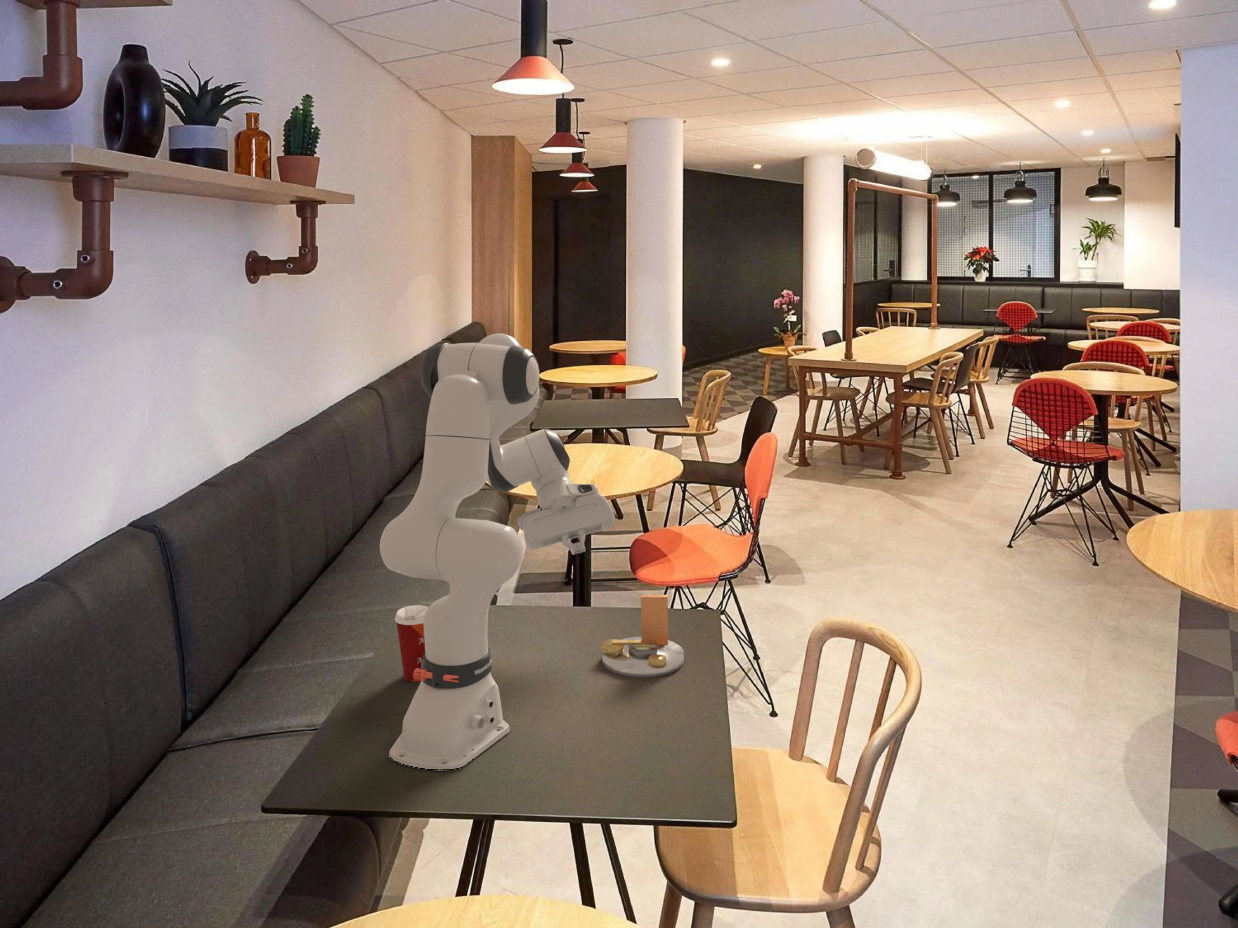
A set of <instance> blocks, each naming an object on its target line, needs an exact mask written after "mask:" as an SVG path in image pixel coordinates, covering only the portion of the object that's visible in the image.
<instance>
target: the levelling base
mask: <svg viewBox="0 0 1238 928" xmlns="http://www.w3.org/2000/svg"><path fill="white" fill-rule="evenodd" d="M620 640H641V636H633V637H626V638H622V639H620ZM601 654H602V653H601ZM601 658H602V660H601V661H602V665H603V666H604V667H605V668H606V669H607V670H608V671H609V672H612V673H614V674H616V675H618V676H624V677H629V678H638V679H647V678H649V679H650V678H657V677H663V676H665V675H670V674H672V673H675V672H676V671H677V670H679V669H680V668H681V667H682V666H683V665H684V661H685V651H684V649H683V648H682V647H681V646H680V645H679V644H677V643H676V642H674V641H671V640H669V639H668V645H624V653H623V654H621V655H618V656H606V655H604V654H602V657H601Z"/></svg>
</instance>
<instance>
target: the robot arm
mask: <svg viewBox="0 0 1238 928" xmlns="http://www.w3.org/2000/svg"><path fill="white" fill-rule="evenodd" d="M419 365H420V367H419V377H420V383H421V387H422V388H423V390H424V391H425V393H426V395H428V397H430V403H429V407H428V413H427V418H426V419H427V420H426V426H425V427H426V429H425V439H424V442H425V443H424V451H423V462H422V470H421V475H420V476H421V477H420V481H419V484H418V486H417V487H418V488H417V490H416V492H415V493H414V496H413V497H412V500H411V501H410V503H409V504H408V505H407V506H406V508H405V509H404V510H403V511H402V512H401V513H400V514H399V515H398V516H396V517H395V518H393V519H392V520H391V521H390V522H389V523H387V525H386V526H385V528H384V529H383V532H382V534H381V537H380V542H379V552H380V557H381V559H382V562H383V564H384V566H385V567H386V568H387V569H388V570H390V571H392V572H395V573H397V574H399V575H400V574H401V575H404V576H407V577H410V578H413V579H414V578H415V579H425V580H435V581H436V580H437V581H445V582H447V583H448V585H449V594H447V595H445V596H442V597H441V598H439V599H437V600H435V601H434V602H433V603H431V604H430V605H429V606H428V607H429V608H428V609H427V611H426V613H425V615H424V619H423V626H424V640H425V654H424V657H423V662H422V669H419V668H416V669H415V670H414V673H413V677H414V680H421V682H419V685H418V687H417V689H416V691H415V694H414V695H413V698H412V700H411V703H410V704H409V706H408V709H407V710H406V713H405V715H404V717H403V720H402V731H401V733H400V735H399V736H398V738H397V739H396V740H395V742H394V743H393V745H392V747H391V748H390V750H389V752H388V753H389V754H388V757H389V758H390V757H391V758H392V759H393V760H392V759H391V758H390V759H391V760H392V761H394V760H395V761H397V762H400V763H401V764H400V763H399V764H400V765H403V764H405V765H404V766H406V765H409V766H408V767H410V766H413V767H412V768H415V767H418V768H417V769H420V768H425V769H424V770H427V769H439V770H438V771H443V770H442V769H454V768H459V769H461V768H460V767H462V766H463V767H465V766H466V765H467V764H469V763H470V762H471V761H472V759H473V760H474V759H476V758H477V757H478V756H479V755H480V754H483V752H484V751H485V750H486V751H487V749H489V748H490V747H491V746H493V745H494V744H495V743H496V742H498V741H499V740H501V739H502V738H503V737H504V736H506V735H507V734H508V733H510V725H509V724H508V723H507V721H505V720H504V718H503V709H502V703H501V696H500V695H501V694H500V689H499V688H500V687H499V686H498V684H497V683H496V681H495V679H494V677H493V676H492V673H491V671H492V670H493V669H492V667H493V666H492V664H493V663H492V662H493V658H492V657H493V656H492V654H491V649H490V647H489V643H488V642H489V641H488V639H489V638H488V619H489V609H490V604H491V603H492V600H493V598H494V597H495V596H494V595H495V594H496V593H497V592H498V590H499V589H500V588H501V587H502V586H503V585H504V584H506V583H507V582H508V581H510V580H511V579H512V578H513V577H515V575H516V574H517V572H518V570H519V568H520V566H521V564H522V561H523V553H524V551H523V544H522V540H521V538H520V536H519V534H518V532H517V531H516V530H515V528H513V527H511V526H509V525H506V524H502V523H499V522H495V521H492V520H487V519H475V518H460V517H459V518H458V517H456V514H457V511H458V507H459V505H460V503H462V501H463V500H464V499H466V498H468V497H471V496H473V495H474V494H476V493H477V492H479V491H481V489H483V487H484V486H485V484H486V482H487V483H488V485H489V486H490V487H491V489H493V490H495V491H499V492H502V493H508V492H511V491H512V490H515V489H516V488H518V487H519V486H522V485H524V484H527V483H528V482H530V483H531V486H532V488H533V489H534V491H535V492H536V499H537V502H538V505H539V508H534V509H532V510H529V511H528V510H527V511H524V512H522V513H521V514H520V515H519V516H518V517H517V519H516V522H517V526H518V528H519V529H520V530H521V531H522V532H523V538H524V542H525V545H526V548H527V549H529V550H531V551H534V550H538V549H541V548H545V547H548V546H552V545H554V544H559V543H562V545H563V546H564V547H566V549H568V550H570V552H571V555H573V556H574V555H577V554H582V553H584V552H586V546H585V541H586V536H587V535H590V534H593V533H598V532H601V531H605V530H608V529H612V528H613V527H614V526H615V523H616V517H615V513H614V510H613V509H612V506H611V505H610V503H609V502H608V500H607V498H606V497H605V496H604V495H602V494H600V493H599V489H598V486H597V485H596V484H595V483H573V481H572V480H571V479H570V473H569V470H568V469H569V467H570V463H571V459H570V456H569V454H568V452H567V451H566V449H565V448H566V447H565V444H564V442H563V440H562V437H561V435H560V434H559V433H557V432H555V431H553V430H552V429H551V430H550V429H548V428H543V429H540V430H537V431H534V432H532V433H531V432H530V434H526V435H525V436H522V437H519V438H517V439H515V440H512V441H510V442H507V443H505V444H501V443H500V437H501V436H502V435H503V433H504V432H506V431H507V430H508V429H510V428H511V427H512V426H514V425H515V424H517V423H518V422H520V421H522V420H523V419H525V418H526V417H528V416H529V415H530V414H531V413H532V411H534V409H535V407H536V405H537V403H538V401H539V398H540V385H539V383H540V369H539V368H540V367H539V362H538V359H537V357H536V355H534V354H533V353H532V351H531V350H530V349H528V348H525V347H523V346H521V344H520V343H519V342H518V341H517V339H516V338H514V337H513V336H511V335H509V334H506V333H502V332H501V333H499V332H498V333H492V334H489V335H487V336H485V337H484V338H482V339H481V340H480V341H479V342H462V343H453V344H452V343H448V342H446V343H444V342H443V343H439V344H435V345H431V346H430V347H429V348H428V349H427V350H426V351H425V353H424V354H423V355H422V358H421V361H420V364H419ZM576 538H578V542H574V543H573V542H571V540H574V539H576ZM395 761H394V762H395ZM397 762H396V763H397ZM468 762H469V763H468ZM463 767H462V768H463ZM440 769H441V770H440ZM454 770H455V769H454Z"/></svg>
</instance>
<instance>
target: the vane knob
mask: <svg viewBox="0 0 1238 928" xmlns="http://www.w3.org/2000/svg"><path fill="white" fill-rule="evenodd" d="M668 598H669V597H668V594H640V622H641V623H640V624H641V625H640V626H641V627H640V630H641V631H640V633H641V635H640V637H641V640H621V639H616V638H612V639H611V638H609V639H606V640H603V641H601V643H600V645H601V646H600V647H601V649H600V650H601V651H600V652H601V654H604V655H606V656H618V655H621V654H623V653H624V645H668V640H669V616H668V615H669V611H668V610H669V609H668V608H669V607H668V605H669V604H668V602H669V600H668Z"/></svg>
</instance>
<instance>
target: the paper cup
mask: <svg viewBox="0 0 1238 928" xmlns="http://www.w3.org/2000/svg"><path fill="white" fill-rule="evenodd" d="M428 608H429V606H427V605H424V604H423V605H421V604H417V605H408V606H404V607H401V608H399V609H398V610H397V612H396V615H395V616H394V617H395V618H394V621H395V623H396V628H397V629H396V630H397V636H398V642H399V643H398V644H399V648H400V649H399V651H400V656H401V657H400V658H401V663H402V664H401V665H402V671H403V678H404V680H405V681H407V682H411V683H421V680H414V677H413V673H414V670H415V669H416V668H419V669H422V662H423V657H424V654H425V640H424V626H423V619H424V615H425V613H426V611H427V609H428Z"/></svg>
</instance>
